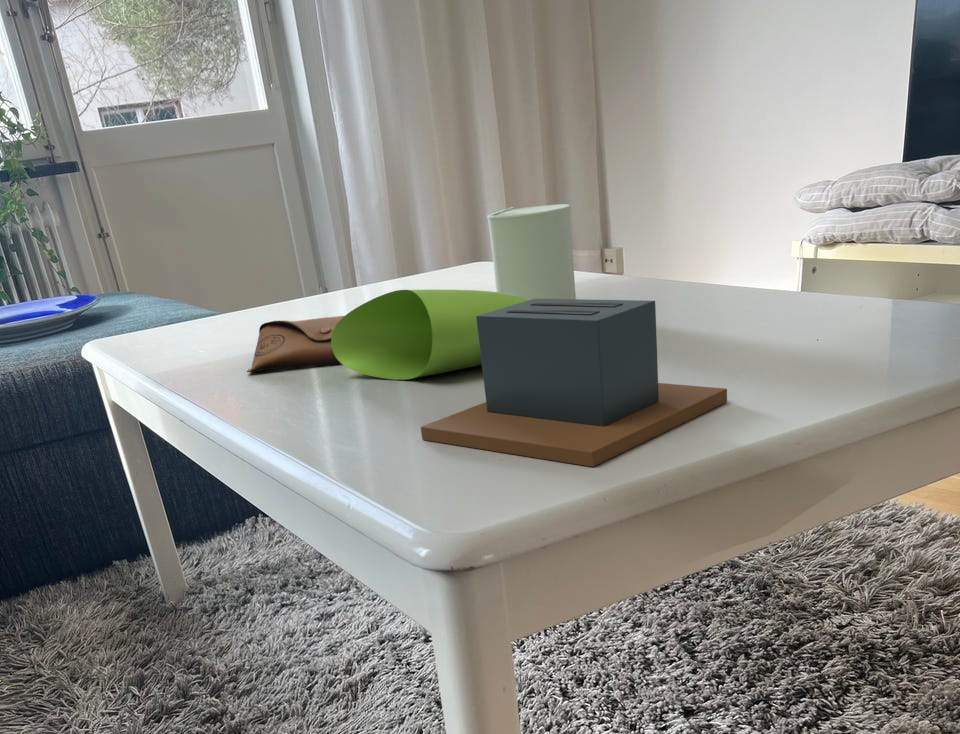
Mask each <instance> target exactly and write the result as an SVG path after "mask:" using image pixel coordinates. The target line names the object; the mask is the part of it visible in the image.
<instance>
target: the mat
mask: <svg viewBox="0 0 960 734" xmlns="http://www.w3.org/2000/svg"><path fill="white" fill-rule="evenodd" d="M658 393H659V402H657V403H655V404H653V405H650V406H648V407H646V408H644V409H641V410H639V411H637V412H635V413H633V414H630V415H628V416H626V417H624V418H622V419H619V420H617V421H615V422H613V423H610V424H608V425H606V426H597V425H589V424H581V423H573V422H565V421H557V420H549V419H540V418H532V417H524V416H516V415H508V414H500V413H492V412H487V405H486V401H485V402H483V403H482V402H481V403H479V404H477V405H475V406H471V407H469V408H466V409H464V410H462V411H459V412H455V413H453V414H451V415H448V416H445V417H442V418H440V419H438V420H435V421H433V422H429V423H427V424H425V425H422V426H420V433H421V439H422V440H423V441H427V442H435V443H442V444H447V445H453V446H460V447H467V448H472V449H478V450H485V451H491V452H497V453H502V454H510V455H516V456H522V457H529V458H533V459H534V458H535V459H542V460H547V461H554V462H560V463H566V464H573V465H578V466H585V467H592V468H594V467H596V466H598V465H600V464H602V463H604V462H606V461H609V460H610V459H612V458H614V457H616V456H619V455H621V454H622V453H625V452H627V451H629V450H632V449H633V448H635V447H637V446H639V445H641V444H643V443H645V442H647V441H650V440H652V439H653V438H656V437H658V436H660V435H662V434H664V433H666V432H668V431H670V430H673V429H675V428H677V427H678V426H680V425H682V424H684V423H687V422H689V421H691V420H693V419H695V418H696V417H699V416H701V415H703V414H705V413H708V412H709V411H711V410H714V409H715V408H718V407H720V406H721V405H724V404H725V403H727V402H728V389H727V388H724V387H714V386H712V387H711V386H701V385H700V386H699V385H689V384H688V385H687V384H677V383H667V382H666V383H664V382H658Z"/></svg>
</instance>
